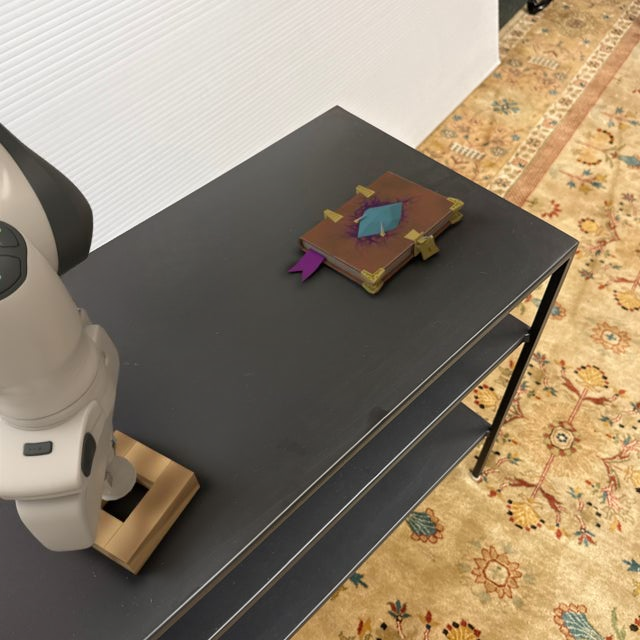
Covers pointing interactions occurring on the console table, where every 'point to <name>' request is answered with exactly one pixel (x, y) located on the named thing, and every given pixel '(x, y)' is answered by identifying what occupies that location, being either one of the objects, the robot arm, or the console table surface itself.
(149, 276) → the console table surface
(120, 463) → the rook chess piece
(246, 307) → the console table surface
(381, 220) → the book
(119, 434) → the square wooden frame
